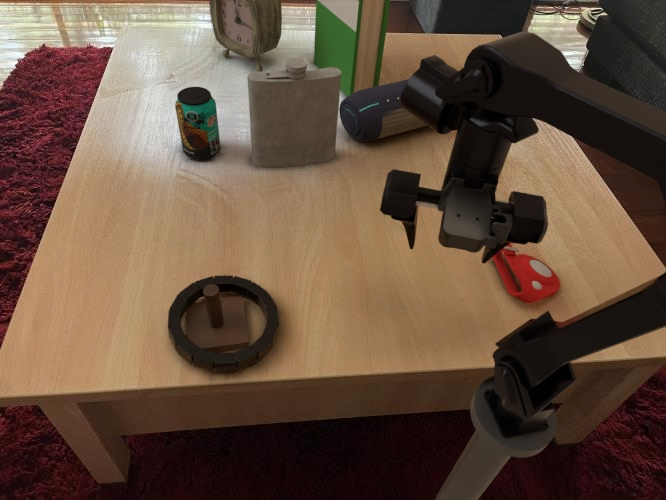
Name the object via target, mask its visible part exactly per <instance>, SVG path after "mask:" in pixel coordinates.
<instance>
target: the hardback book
mask: <svg viewBox="0 0 666 500" xmlns="http://www.w3.org/2000/svg"><path fill="white" fill-rule="evenodd" d="M315 2H316V3H315V22H314V45H313V46H314V47H313V49H314V50H313V64H314V65H315V66H316V67H317V69H322V68H328V67H334V68H338V69H339V70H341V84H340V92H342V93H343V94H344V95H345V96H346V97H347V96H349V95H351V94H353V93H355V92H357V91H359V90H363V89H367V88H371V87H376V86H380V79H381V78H380V77H381V72H382V65H383V64H382V63H383V57H384V51H385V42H386V37H387V36H386V35H387V29H388V28H387V27H388V21H389V13H390V7H391V0H315Z"/></svg>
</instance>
